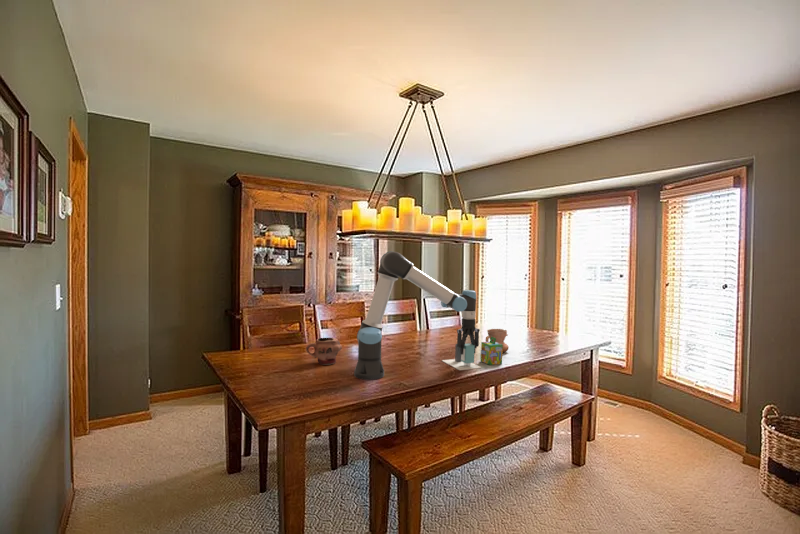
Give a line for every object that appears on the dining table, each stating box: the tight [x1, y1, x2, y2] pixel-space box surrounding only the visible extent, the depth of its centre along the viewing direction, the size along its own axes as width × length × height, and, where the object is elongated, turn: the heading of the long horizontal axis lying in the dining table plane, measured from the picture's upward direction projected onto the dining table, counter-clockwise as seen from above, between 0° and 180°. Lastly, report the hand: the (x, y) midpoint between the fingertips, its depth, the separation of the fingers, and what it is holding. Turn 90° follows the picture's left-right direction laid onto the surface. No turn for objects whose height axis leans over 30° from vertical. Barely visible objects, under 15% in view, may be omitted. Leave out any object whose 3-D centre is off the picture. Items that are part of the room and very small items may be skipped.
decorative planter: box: [305, 337, 343, 366], centre depth 229 cm, size 20×12×14 cm, turn 119°
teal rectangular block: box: [461, 342, 475, 364], centre depth 229 cm, size 5×5×10 cm
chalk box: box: [480, 337, 503, 366], centre depth 239 cm, size 9×9×15 cm
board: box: [441, 358, 482, 371], centre depth 234 cm, size 14×20×1 cm
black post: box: [454, 343, 461, 362], centre depth 239 cm, size 3×3×10 cm
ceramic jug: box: [485, 328, 509, 354], centre depth 267 cm, size 18×14×14 cm
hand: (467, 359), depth 229 cm, fingers closed on teal rectangular block, 5 cm apart
